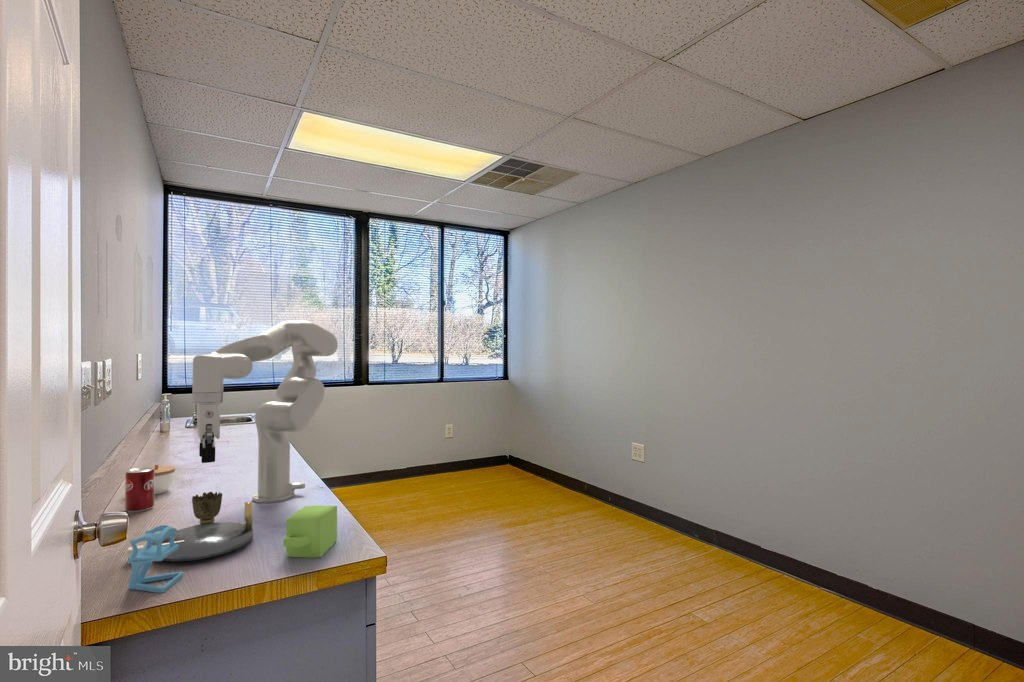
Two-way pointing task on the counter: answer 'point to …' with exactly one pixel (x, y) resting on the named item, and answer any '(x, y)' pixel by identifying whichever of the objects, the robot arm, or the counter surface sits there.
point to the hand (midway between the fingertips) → (207, 459)
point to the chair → (152, 559)
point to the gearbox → (311, 531)
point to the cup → (207, 506)
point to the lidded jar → (163, 478)
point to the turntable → (210, 539)
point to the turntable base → (130, 550)
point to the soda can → (139, 489)
